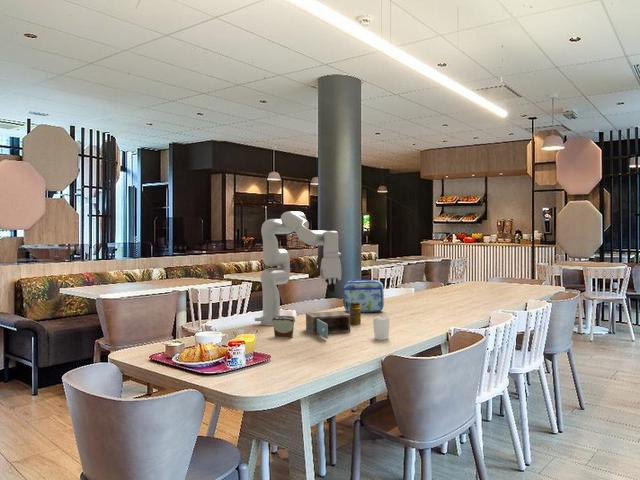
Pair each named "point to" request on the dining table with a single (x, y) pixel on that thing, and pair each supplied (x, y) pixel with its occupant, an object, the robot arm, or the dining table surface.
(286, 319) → the food container
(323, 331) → the door
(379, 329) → the white cup
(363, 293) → the lunch box
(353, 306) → the condiment
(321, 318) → the bread box
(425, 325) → the dining table surface
